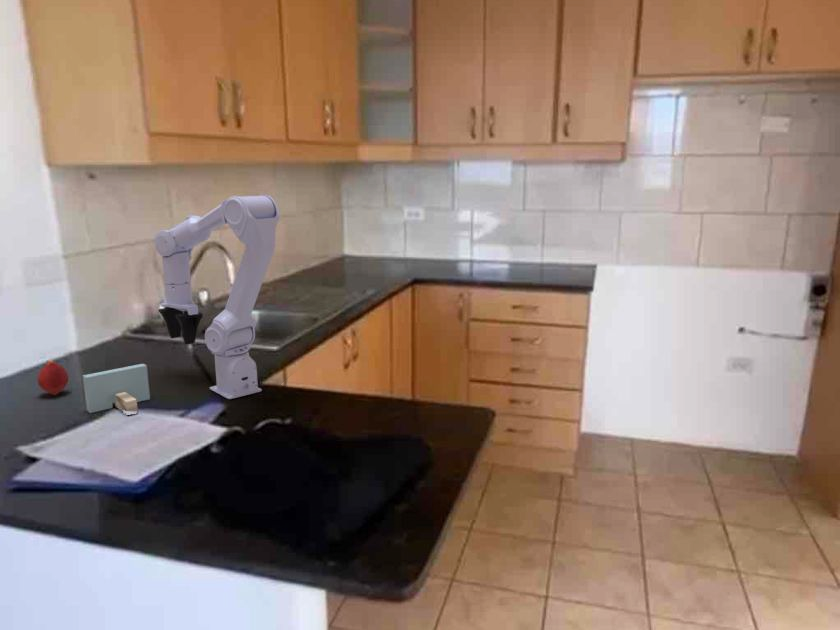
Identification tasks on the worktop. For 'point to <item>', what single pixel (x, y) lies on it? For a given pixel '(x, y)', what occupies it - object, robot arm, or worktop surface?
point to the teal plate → (115, 386)
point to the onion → (52, 378)
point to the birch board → (125, 402)
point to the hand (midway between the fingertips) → (182, 340)
